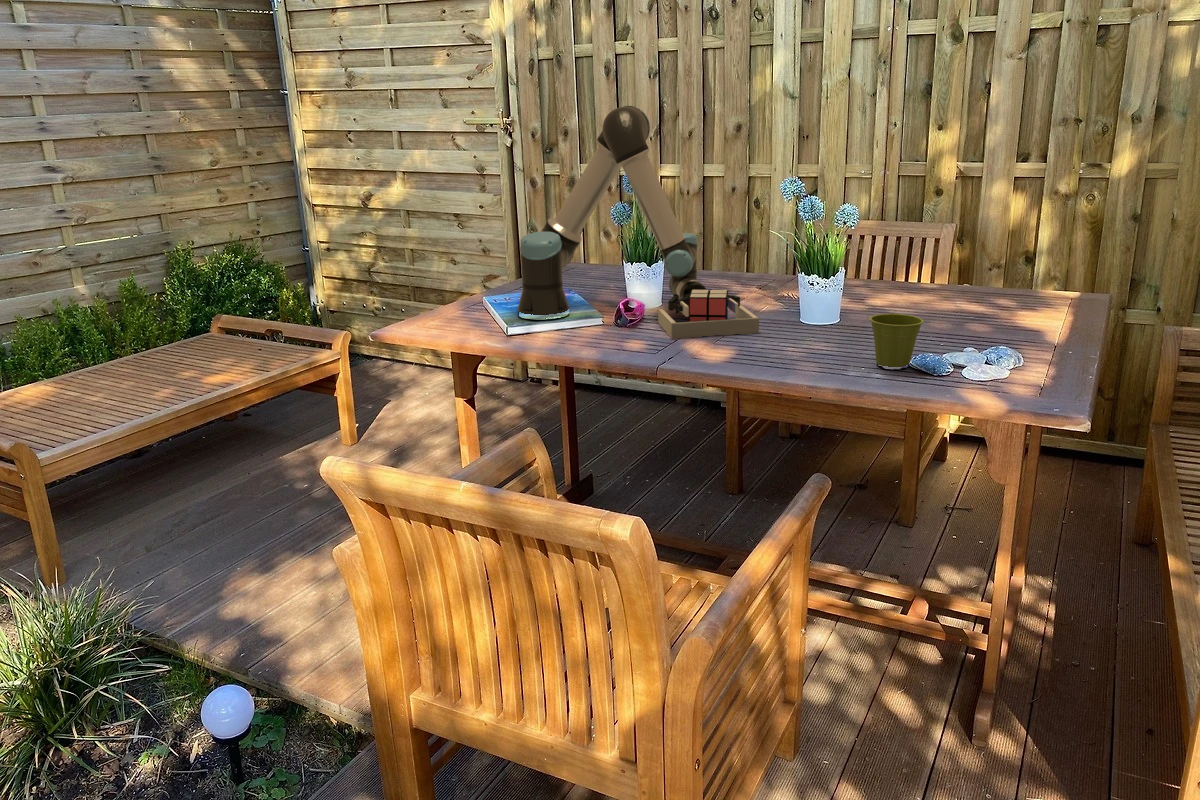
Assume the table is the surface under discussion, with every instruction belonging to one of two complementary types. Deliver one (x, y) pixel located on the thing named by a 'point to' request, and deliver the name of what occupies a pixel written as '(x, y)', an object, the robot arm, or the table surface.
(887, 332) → the plant pot
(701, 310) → the puzzle cube
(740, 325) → the wooden frame
